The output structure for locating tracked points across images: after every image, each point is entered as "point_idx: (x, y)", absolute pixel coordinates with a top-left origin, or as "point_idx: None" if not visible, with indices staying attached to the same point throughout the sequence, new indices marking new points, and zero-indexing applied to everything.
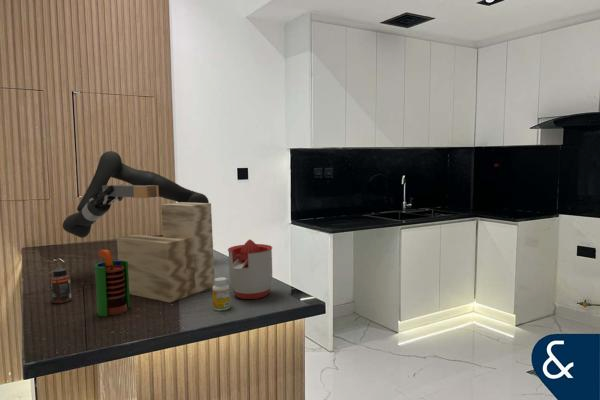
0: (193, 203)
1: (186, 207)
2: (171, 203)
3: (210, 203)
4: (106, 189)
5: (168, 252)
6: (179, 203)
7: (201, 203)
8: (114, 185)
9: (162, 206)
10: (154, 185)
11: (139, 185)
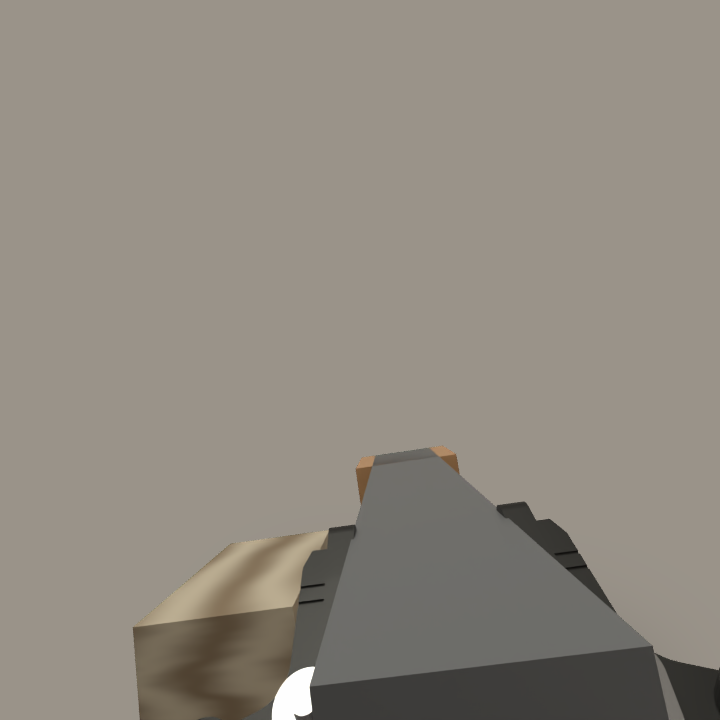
0: (232, 564)
1: (326, 545)
2: (218, 613)
3: (232, 544)
4: (594, 583)
5: None
6: (224, 592)
7: (236, 552)
8: (431, 540)
9: (296, 612)
10: (360, 460)
11: (371, 473)
